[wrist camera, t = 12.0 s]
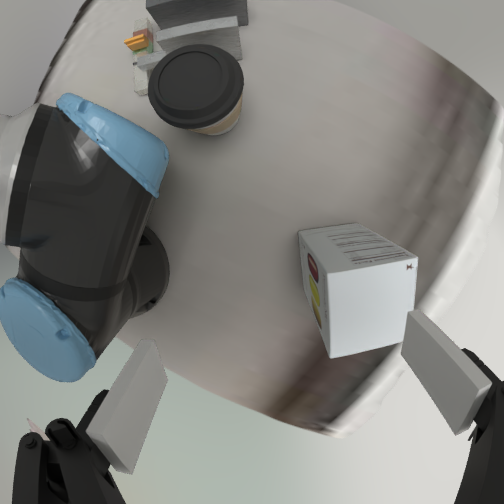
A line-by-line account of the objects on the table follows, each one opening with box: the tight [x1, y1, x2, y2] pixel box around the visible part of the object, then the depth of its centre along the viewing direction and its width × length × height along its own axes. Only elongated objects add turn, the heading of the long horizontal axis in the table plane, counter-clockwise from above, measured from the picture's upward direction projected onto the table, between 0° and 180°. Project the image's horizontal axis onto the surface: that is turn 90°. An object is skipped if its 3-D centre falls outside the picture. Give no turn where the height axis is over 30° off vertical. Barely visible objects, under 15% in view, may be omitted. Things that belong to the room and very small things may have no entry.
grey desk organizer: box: [133, 0, 248, 96], centre depth 27 cm, size 17×13×10 cm
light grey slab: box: [137, 16, 242, 71], centre depth 27 cm, size 14×2×10 cm, turn 96°
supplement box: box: [298, 223, 418, 358], centre depth 32 cm, size 10×9×17 cm
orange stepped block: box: [124, 34, 149, 51], centre depth 27 cm, size 3×1×3 cm, turn 97°
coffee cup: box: [148, 44, 244, 136], centre depth 27 cm, size 9×9×15 cm
